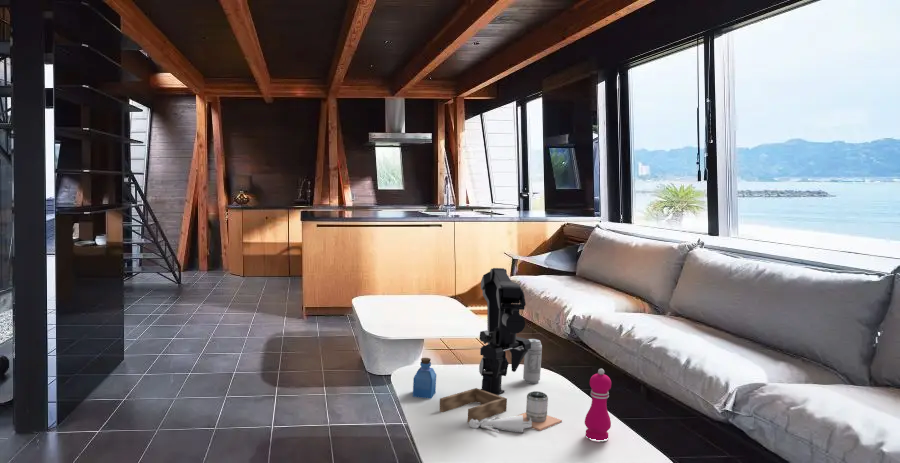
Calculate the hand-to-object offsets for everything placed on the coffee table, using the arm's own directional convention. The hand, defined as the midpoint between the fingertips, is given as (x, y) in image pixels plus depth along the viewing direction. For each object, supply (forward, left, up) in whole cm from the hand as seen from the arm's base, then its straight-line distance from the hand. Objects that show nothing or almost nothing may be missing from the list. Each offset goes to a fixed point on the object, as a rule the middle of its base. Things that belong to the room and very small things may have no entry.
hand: (504, 374), depth 201 cm
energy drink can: (-32, -13, -12) cm, 37 cm away
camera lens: (-1, +12, -11) cm, 16 cm away
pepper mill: (-4, +31, -12) cm, 33 cm away
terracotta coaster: (-1, +12, -12) cm, 17 cm away
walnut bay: (+8, -6, -12) cm, 15 cm away
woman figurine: (+12, +9, -12) cm, 19 cm away
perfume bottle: (+9, -26, -12) cm, 30 cm away
